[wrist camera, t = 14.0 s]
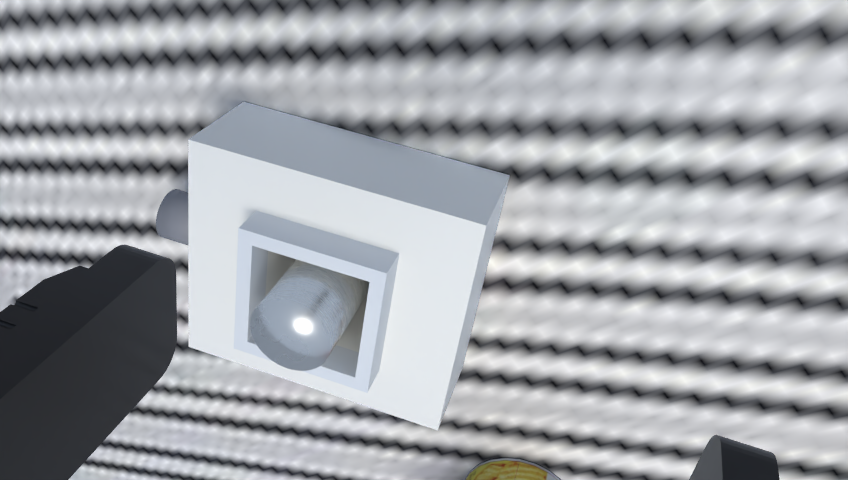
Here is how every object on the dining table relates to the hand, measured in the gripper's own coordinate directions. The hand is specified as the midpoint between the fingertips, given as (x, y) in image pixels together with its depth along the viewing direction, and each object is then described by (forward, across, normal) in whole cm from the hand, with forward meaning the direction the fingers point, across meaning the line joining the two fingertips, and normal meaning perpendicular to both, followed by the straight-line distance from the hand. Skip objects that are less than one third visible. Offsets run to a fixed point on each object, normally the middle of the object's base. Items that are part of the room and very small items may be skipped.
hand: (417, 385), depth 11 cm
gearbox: (+30, +12, +18) cm, 37 cm away
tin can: (+30, +10, +18) cm, 36 cm away
